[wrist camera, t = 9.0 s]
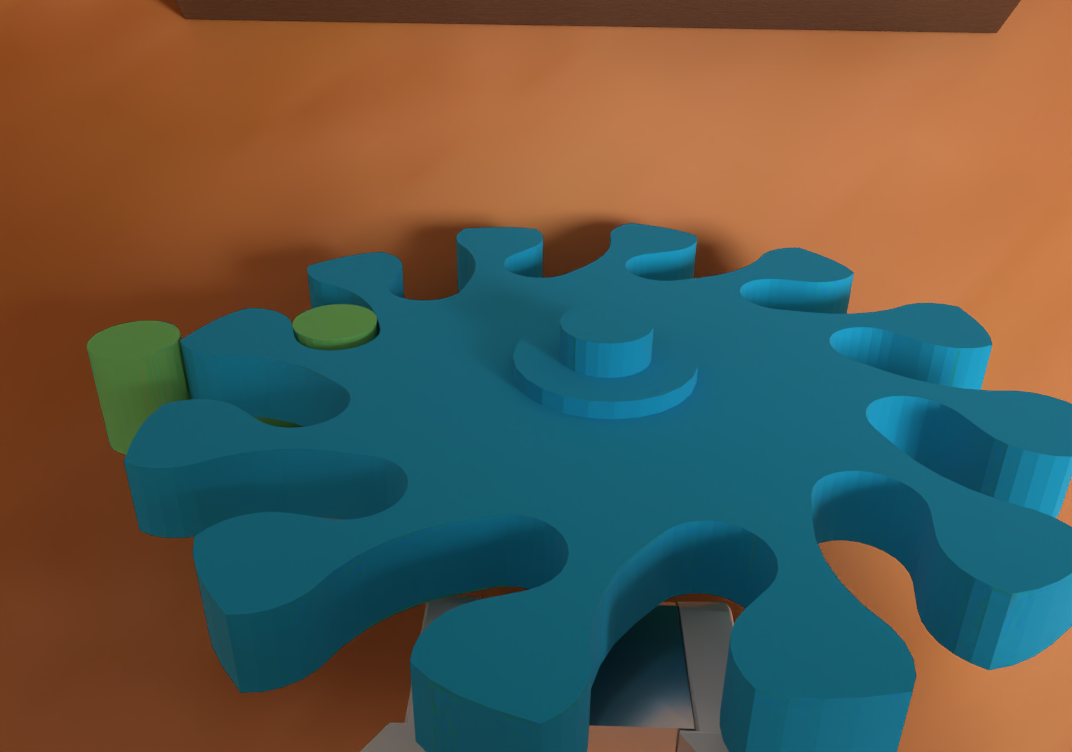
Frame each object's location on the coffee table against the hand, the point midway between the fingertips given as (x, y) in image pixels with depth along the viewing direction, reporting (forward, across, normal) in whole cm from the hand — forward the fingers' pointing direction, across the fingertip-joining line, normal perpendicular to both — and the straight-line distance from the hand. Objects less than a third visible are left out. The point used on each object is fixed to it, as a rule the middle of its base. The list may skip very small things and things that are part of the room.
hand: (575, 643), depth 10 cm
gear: (+5, 0, +1) cm, 5 cm away
